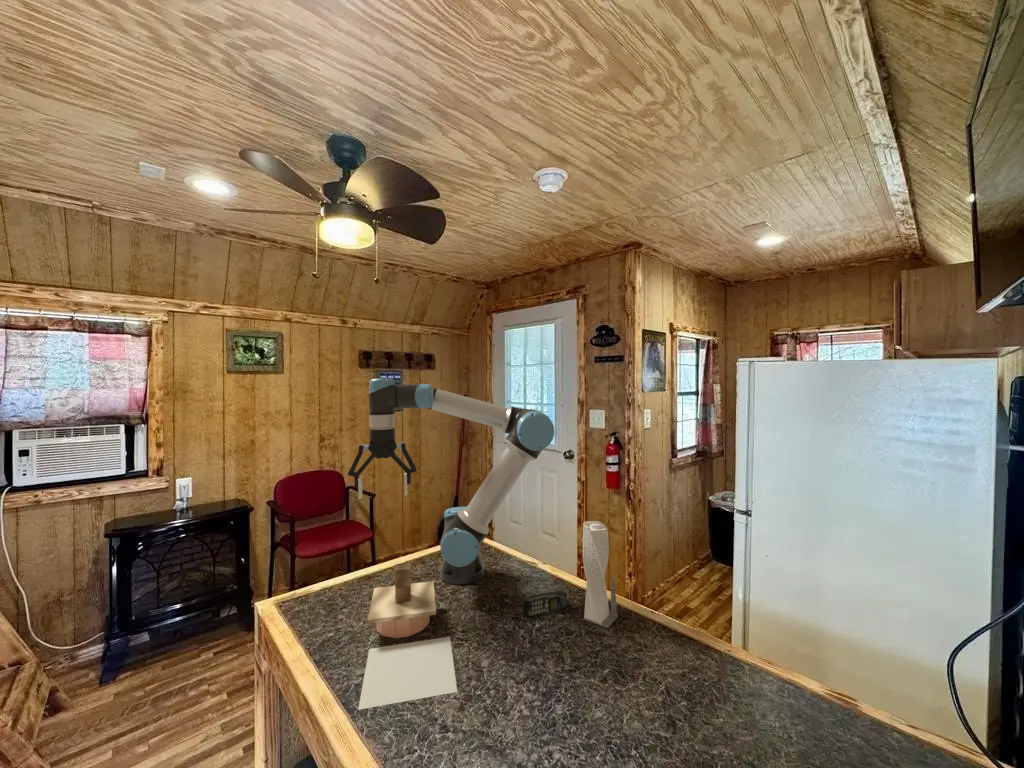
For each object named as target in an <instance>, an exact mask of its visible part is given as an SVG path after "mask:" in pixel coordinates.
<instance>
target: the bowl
mask: <svg viewBox="0 0 1024 768" xmlns="http://www.w3.org/2000/svg"><path fill="white" fill-rule="evenodd" d="M430 618H431V617H430V615H429V616H422V617H415V618H408V619H401V620H393V621H386V622H379V623H375V624H376V631H377V632H378V633H379V634H380V635H381V636H382V637H388V638H391V639H392V638H394V639H399V638H406V637H411V636H413V635H415V634H417V633H420V632H422V631H423V630H425V628H426V627H427V626H428V625H429V623H430V621H431V620H430Z"/></svg>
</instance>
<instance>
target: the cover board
mask: <svg viewBox="0 0 1024 768" xmlns="http://www.w3.org/2000/svg"><path fill="white" fill-rule="evenodd" d="M411 571H412V570H411V562H404V563H403V562H401V563H395V567H394V585H389V586H381V587H374V588H373V591H372V592H373V594H372V597H371V602H370V607H369V612H368V616H367V624H368V625H370V624H371V625H372V624H376V623H379V622H386V621H393V620H401V619H408V618H415V617H422V616H429V617H430V616H434V615H435V616H436V615H437V608H436V607H437V606H436V596H435V585H434V580H432V581H423V582H414V583H412V582H411V581H412V579H411Z"/></svg>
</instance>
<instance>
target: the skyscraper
mask: <svg viewBox="0 0 1024 768" xmlns="http://www.w3.org/2000/svg"><path fill="white" fill-rule="evenodd" d="M582 523H583V526H582V561H583V569H584V575H585V579H586V585H585V587H586V588H585V601H584V617H583V621H584V620H585V621H587V622H590V623H593V624H595V625H598V626H600V627H604V628H606V629H609V628H610V626H611V625H612V624H613V623H614V622H615V620H616V619H618V617H619V614H618V612H617V606H618V602H617V594H616V593H617V591H616V590H617V587H616V586H615V585H616V584H615V576H614V575H615V574H614V573H615V572H614V571H612V572H611V573H612V576H611V586H610V587H609V588H610V604H609V597H608V591H607V586H606V580H605V579H606V578H605V577H606V573H607V569H608V563H609V553H610V550H609V549H610V546H609V545H610V544H609V542H610V541H609V529H608V528H607V526H606V525H605V524H604V523H602V522H601V521H599V520H588V521H584V522H582ZM609 605H610V607H609Z"/></svg>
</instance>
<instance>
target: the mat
mask: <svg viewBox="0 0 1024 768" xmlns="http://www.w3.org/2000/svg"><path fill="white" fill-rule="evenodd" d="M455 672H456V671H455V664H454V655H453V650H452V641H451V636H446V637H439V638H433V639H425V640H419V641H412V642H406V643H400V644H399V643H398V644H393V645H386V646H379V647H373V648H369V649H368V655H367V659H366V664H365V670H364V674H363V675H364V676H363V680H362V685H361V692H360V697H359V702H358V711H360V710H365V709H373V708H376V707H382V706H388V705H392V704H399V703H403V702H410V701H415V700H420V699H425V698H432V697H436V696H443V695H448V694H454V693H458V687H457V679H456V673H455Z"/></svg>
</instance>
